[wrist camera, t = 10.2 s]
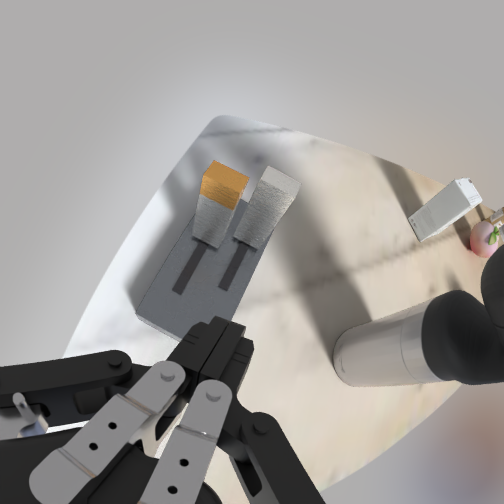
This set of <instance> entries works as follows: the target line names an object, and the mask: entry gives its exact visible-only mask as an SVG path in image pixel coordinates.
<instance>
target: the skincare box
mask: <svg viewBox="0 0 504 504" xmlns="http://www.w3.org/2000/svg"><path fill="white" fill-rule="evenodd" d="M480 202H482V199H481V197H480V195H479V193H478V192H477V190H476V189H475V187H474V185H473V184H472V182H471V180H470V179H469V178H461V179H455V180H453V181H452V182H451V183H450V184H449V185H447V186H446V187H445V188H444V189H443V190H442V191H440V192H439V193H438V194H437V195H436V196H434V197H433V198H432V199H431V200H430V201H428V202H427V203H426V204H425V205H423V206H422V207H421V208H420V209H419V210H417V211H416V212H415V213H414V214H413V215H411V216H410V217H409V218H408V220H409V222H410V223H411V225H412V227H413V229H414V231H415V234H416V235H417V238H418V240H419V241H420V242H422V241H423V240H425V239H427V238H429V237H431V236H434V235H437V234H438V233H440V232H441V231H443V230H444V229H445V228H447V227H448V226H450V225H451V224H452V223H454V222H455V221H457V220H458V219H459V218H461V217H462V216H463V215H465V214H466V213H467V212H469V211H470V210H471V209H472V208H474V207H475V206H477V205H478V204H479V203H480Z"/></svg>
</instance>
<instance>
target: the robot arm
mask: <svg viewBox="0 0 504 504" xmlns="http://www.w3.org/2000/svg"><path fill="white" fill-rule="evenodd" d="M481 293H482V297H483V301H484V305H485V306H484V305H483V304H482V303H480V302H479V301H478V300H477V299H476V298H475V297H473V296H472V295H471V294H469V293H467V292H465V291H462V290H454V291H450V292H447V293H445V294H442V295H440V296H438V297H435V298H433V299H430V300H428V301H425V302H423V303H420V304H418V305H415V306H413V307H410V308H408V309H405V310H402V311H400V312H397V313H394V314H392V315H389V316H386V317H383V318H380V319H377V320H375V321H372V322H369V323H365V324H362V325H360V326H357V327H354V328H350V329H348V330H347V331H345V332H344V333H343V334H342V335H341V336H340V337H339V339H338V340H337V343H336V345H335V348H334V353H333V361H334V367H335V370H336V373H337V374H338V376H339V378H340V379H341V380H342V381H343V382H345V383H346V384H348V385H350V386H353V387H381V386H400V385H414V384H425V383H434V382H442V381H451V380H456V381H459V382H461V383H464V384H468V385H481V384H491V383H500V382H504V244H503V245H502V246H501V247H499V248H498V249H497V250H496V251H495V252H494V253H493V254H492V256H491V257H490V258H489V260H488V261H487V263H486V265H485V267H484V269H483V272H482V276H481ZM245 330H246V326H243V325H240V324H238V323H235V322H232V321H231V322H230V321H229V320H227V319H224V318H221V317H219V316H216V315H215V316H214V317H213V319H212V320H211V322H210V323H209V324H206V323H204V322H199V323H197V324H195V325H193V326H192V327H191V328H190V329H189V331H188V332H187V334H186V335H185V336H184V337H183V339H182V340H181V341H180V343H179V344H178V345H177V346H176V348H175V349H174V350H173V352H172V353H171V354H170V356H169V357H168V358H167V359H166V361H160V362H157V363H156V364H154V365H153V366H143V365H139V364H134V363H132V361H131V358H130V357H129V356H128V355H127V354H126V353H125V352H122V351H119V350H110V351H104V352H99V353H93V354H88V355H82V356H76V357H70V358H64V359H57V360H50V361H44V362H37V363H29V364H22V365H13V366H4V367H0V504H222V502H221V500H220V498H219V496H218V495H217V494H216V492H215V491H214V490H213V489H212V488H211V487H210V486H209V485H208V484H206V483H205V482H204V479H205V476H206V473H207V470H208V467H209V465H210V462H211V459H212V456H213V453H214V450H215V447H216V446H218V447H219V448H220V449H222V450H223V451H224V452H226V453H227V454H228V455H229V458H230V461H231V463H232V465H233V468H234V470H235V472H236V474H237V477H238V479H239V481H240V483H241V485H242V487H243V490H244V492H245V494H246V496H247V498H248V500H249V502H250V504H326V503H325V502H324V501H323V499H322V497H321V495H320V494H319V492H318V490H317V489H316V487H315V486H314V484H313V482H312V481H311V479H310V477H309V476H308V474H307V472H306V471H305V469H304V467H303V466H302V464H301V462H300V461H299V459H298V457H297V455H296V454H295V452H294V450H293V448H292V447H291V445H290V443H289V441H288V440H287V438H286V436H285V434H284V433H283V431H282V429H281V427H280V425H279V424H278V422H277V421H276V419H275V418H273V417H272V416H271V415H269V414H266V413H263V412H254V413H251V412H250V411H248V410H247V409H245V408H244V407H243V406H242V405H241V404H240V403H239V401H238V399H237V393H238V391H239V388H240V386H241V384H242V381H243V379H244V377H245V374H246V372H247V369H248V367H249V364H250V361H251V358H252V355H253V352H254V345H253V341H252V340H249V339H247V338H244V333H245ZM186 403H189V405H188V407H187V409H186V411H185V413H184V416H183V418H182V420H181V422H180V424H179V425H177V426H176V427H175V428H174V430H173V432H172V434H171V436H170V438H169V440H168V443H167V445H166V447H165V449H164V451H163V453H162V455H161V457H160V459H157V458H154V456H155V454H156V451H157V448H158V446H159V445H160V443H161V442H162V441H163V439H164V438H165V436H166V435H167V434H168V432H169V431H170V430H171V428H172V427H173V426H174V424H175V423H176V422H177V420H178V419H179V417H180V416H181V413H182V410H183V409H184V407H185V405H186ZM88 420H90V421H89V422H88V423H87V424H86V425H85V426H84V427H77V428H72V429H67V430H62V431H57V432H52V433H46V431H47V429H48V427H54V426H61V425H67V424H72V423H78V422H83V421H88Z"/></svg>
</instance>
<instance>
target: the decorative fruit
mask: <svg viewBox="0 0 504 504" xmlns="http://www.w3.org/2000/svg"><path fill="white" fill-rule="evenodd" d="M498 235H499V230H498V227H497V226H495V227H494V226H493V225H491V224H490V223H489V222H486V221H482V222H479V223H477V224H476V225H475V226H474V227H473V229H472V231H471V234H470V246H471V249H472V251H473V252H474V253H475V254H476V255H478V256H480V257H483V258H488V257H491V256H492V254H493V253H494V252H495V251H496V249H497V246H498V239H499V237H498Z"/></svg>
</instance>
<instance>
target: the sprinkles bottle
mask: <svg viewBox="0 0 504 504" xmlns="http://www.w3.org/2000/svg"><path fill="white" fill-rule="evenodd" d="M483 221H486V222H489V223H490V224H491V225H493V226H494V227H495V226H497V227H498V228H499V227H501V226H502V225H504V207H503V208H501V209H500V210H498V211H497V212H495V213H494V214H493V215H491V216H490V217H489V218H487V219H486V220H483Z"/></svg>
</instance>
